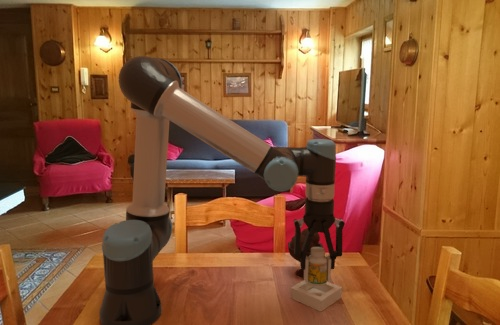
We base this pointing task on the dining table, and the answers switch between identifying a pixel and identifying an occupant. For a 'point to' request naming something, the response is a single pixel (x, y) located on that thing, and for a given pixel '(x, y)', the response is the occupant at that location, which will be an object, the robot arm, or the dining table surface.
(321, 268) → the supplement bottle
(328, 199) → the robot arm
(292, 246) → the ice cream bowl
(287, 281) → the dining table surface
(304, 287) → the holder
